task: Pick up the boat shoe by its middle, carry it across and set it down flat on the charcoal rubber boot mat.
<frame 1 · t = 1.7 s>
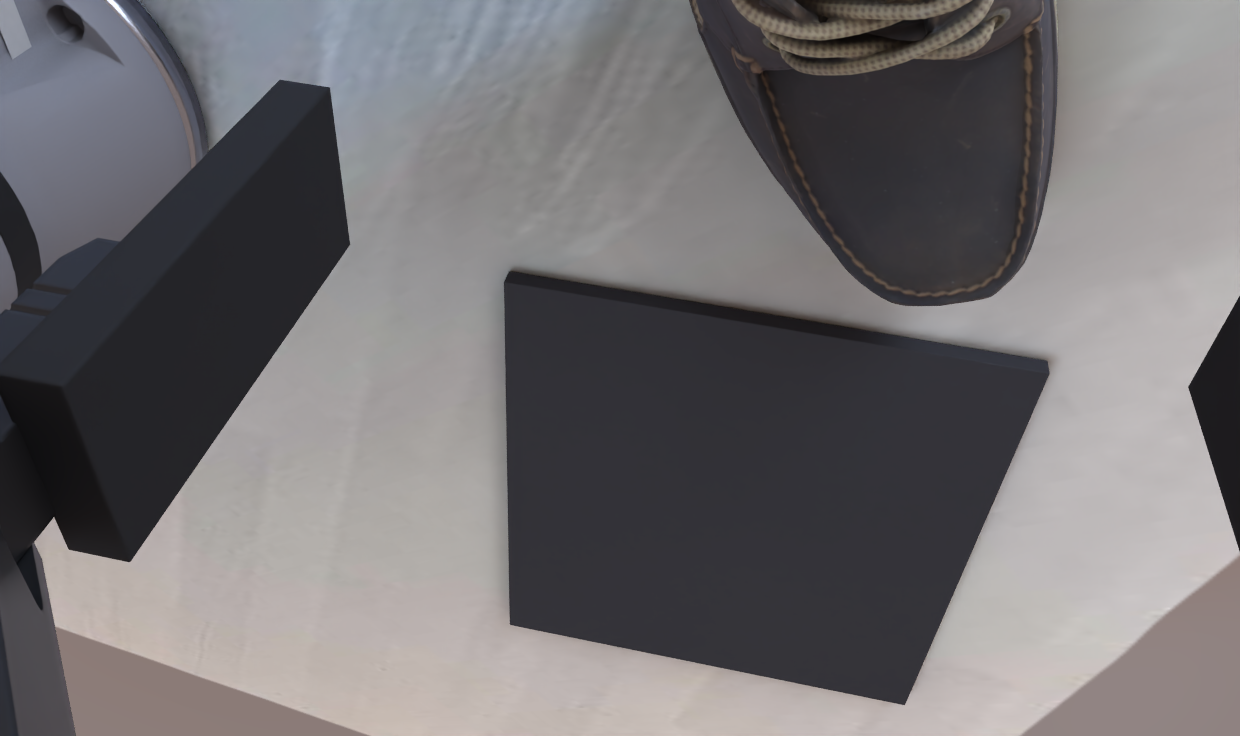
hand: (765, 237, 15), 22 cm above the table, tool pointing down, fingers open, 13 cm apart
boot mat: (733, 509, 51), on the table
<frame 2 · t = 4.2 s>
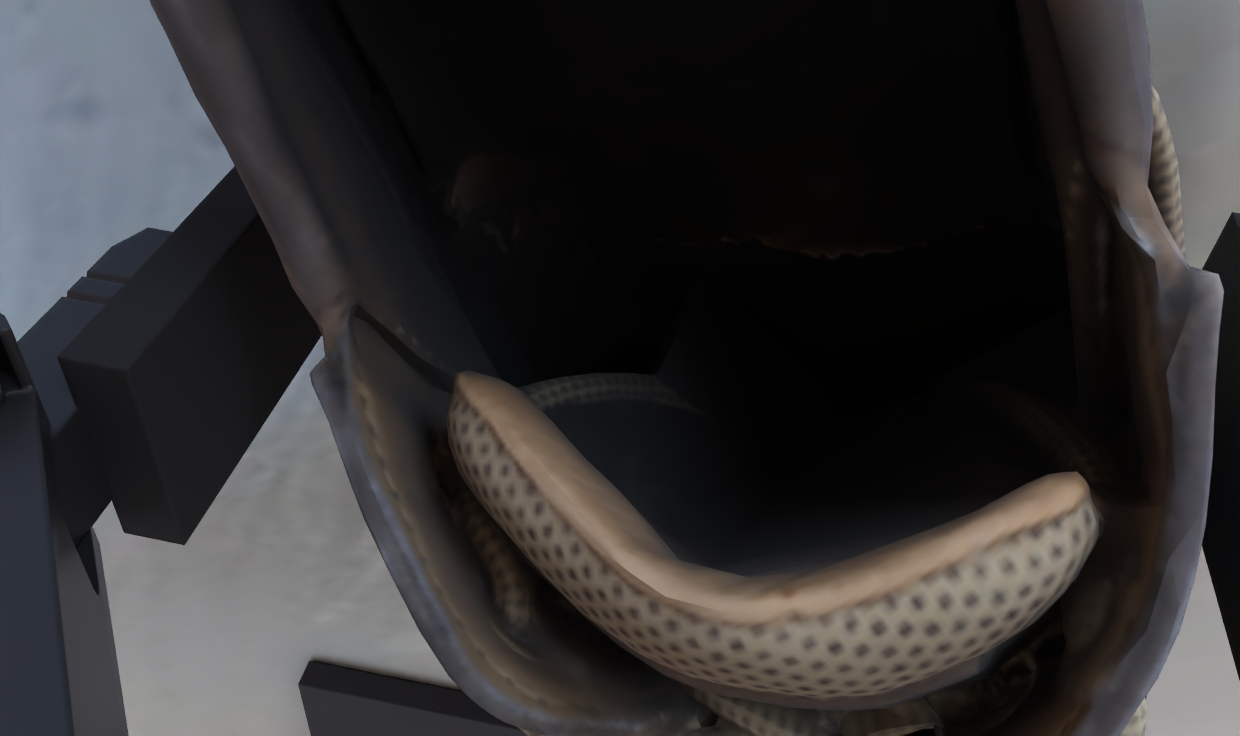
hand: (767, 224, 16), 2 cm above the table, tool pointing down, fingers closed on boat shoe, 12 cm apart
boat shoe: (751, 144, 17), on the table, touching gripper
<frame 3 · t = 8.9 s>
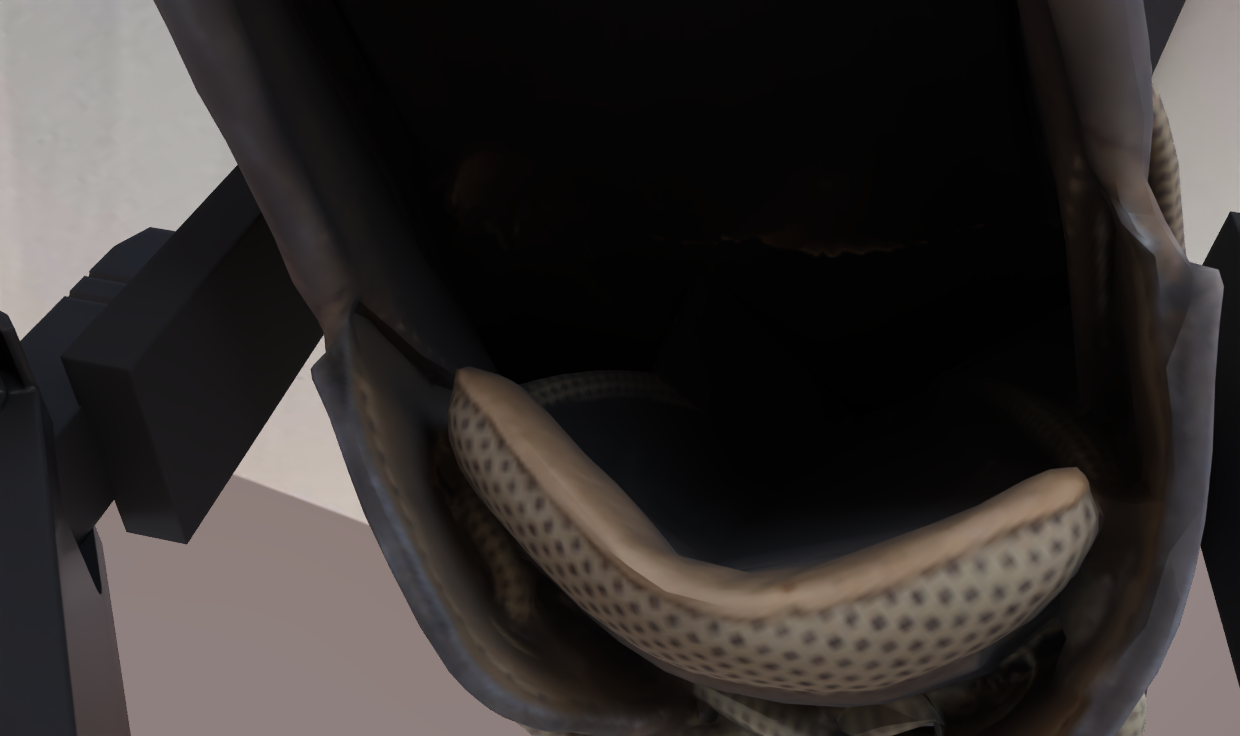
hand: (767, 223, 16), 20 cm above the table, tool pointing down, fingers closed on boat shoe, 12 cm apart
boot mat: (795, 18, 34), on the table
boat shoe: (752, 143, 17), point 18 cm above the table, touching gripper
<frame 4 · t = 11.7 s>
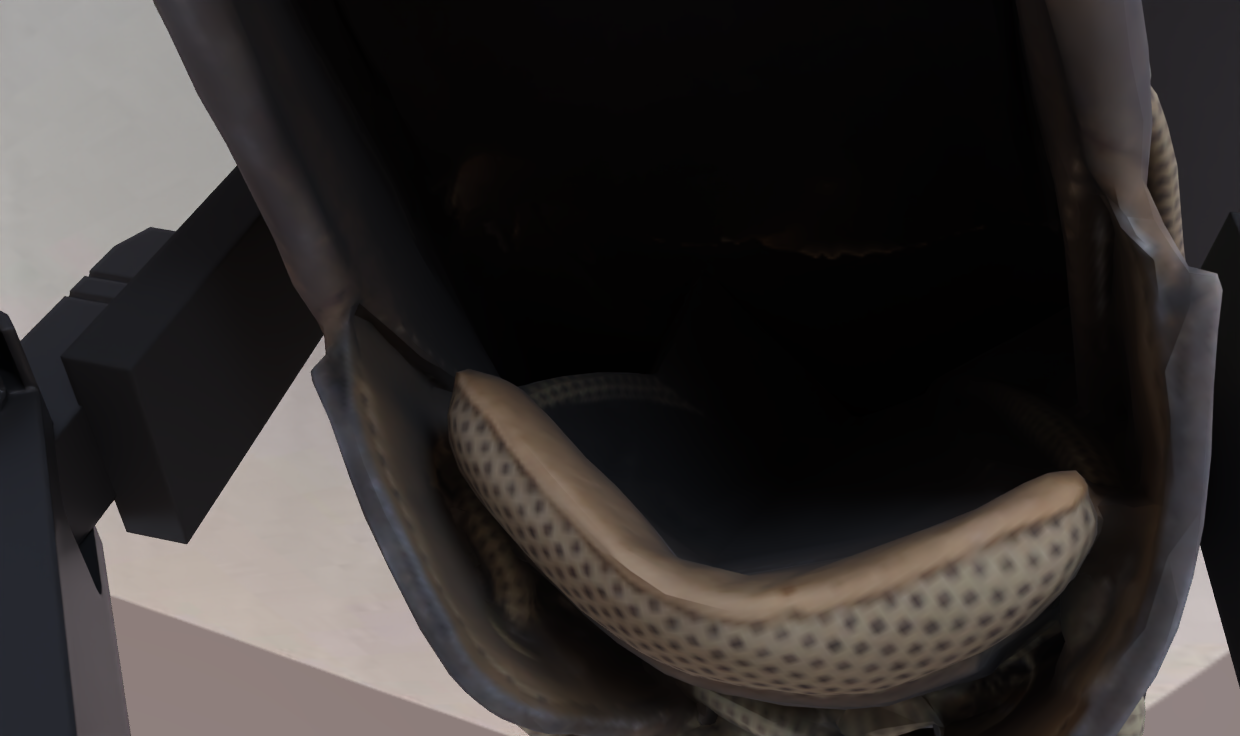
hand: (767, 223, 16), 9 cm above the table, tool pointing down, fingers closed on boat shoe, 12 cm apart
boat shoe: (752, 145, 17), point 7 cm above the table, touching gripper
when the fingers open (3 cm above the table, at t = 13.8 s): boat shoe stays where it is, resting on boot mat.
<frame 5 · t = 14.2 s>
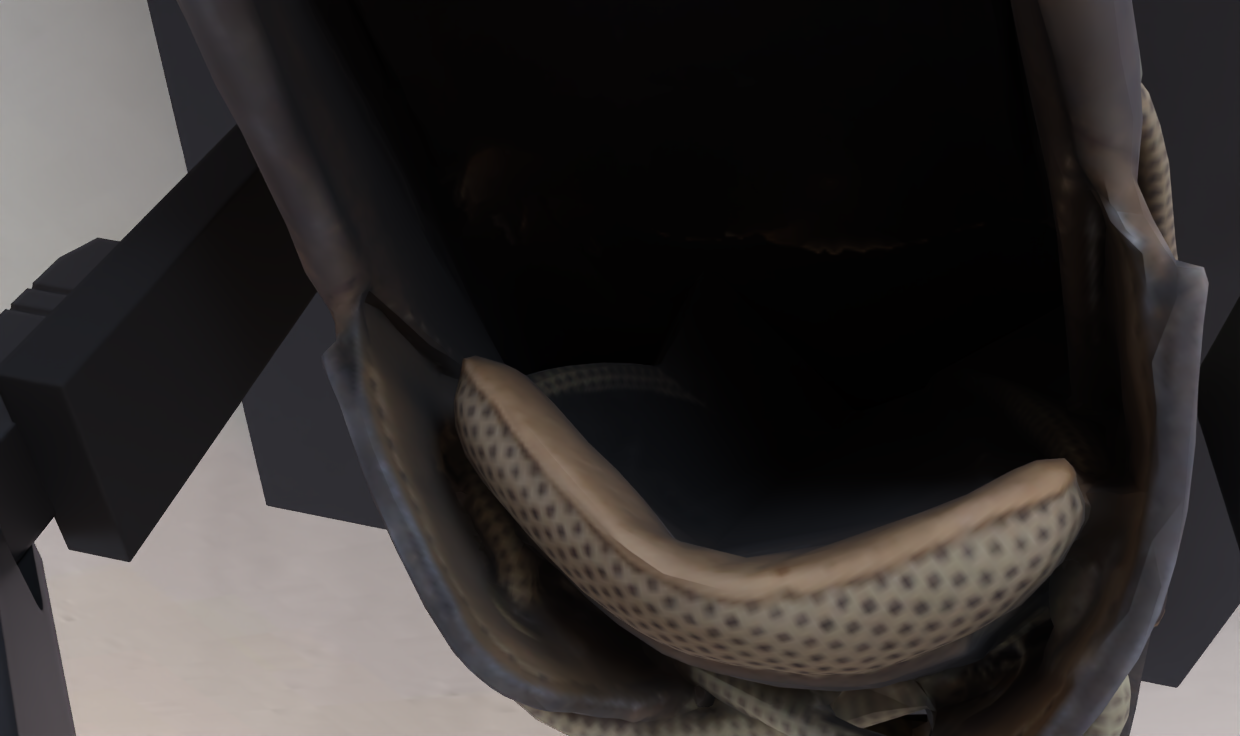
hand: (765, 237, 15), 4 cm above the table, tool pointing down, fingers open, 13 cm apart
boot mat: (786, 124, 18), on the table
boat shoe: (757, 141, 18), point 1 cm above the table, touching boot mat
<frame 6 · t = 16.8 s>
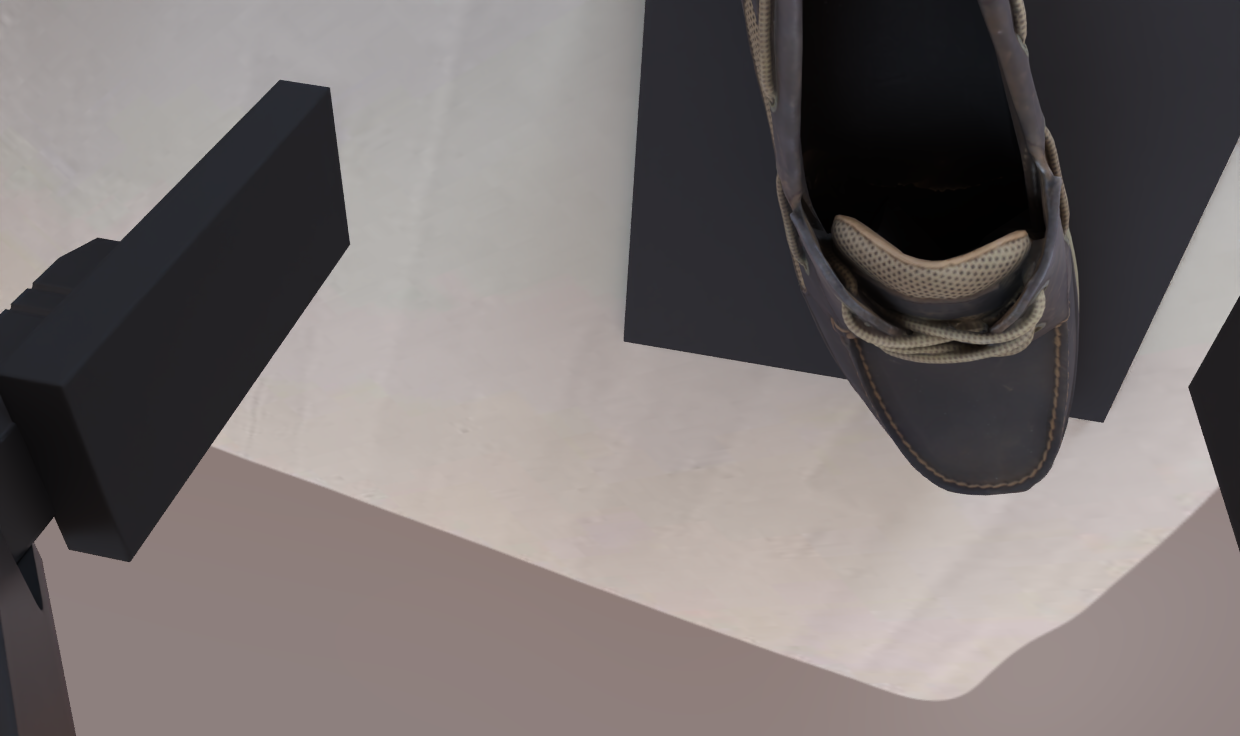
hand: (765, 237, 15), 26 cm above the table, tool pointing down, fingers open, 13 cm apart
boot mat: (916, 139, 42), on the table
boat shoe: (904, 147, 41), point 1 cm above the table, touching boot mat
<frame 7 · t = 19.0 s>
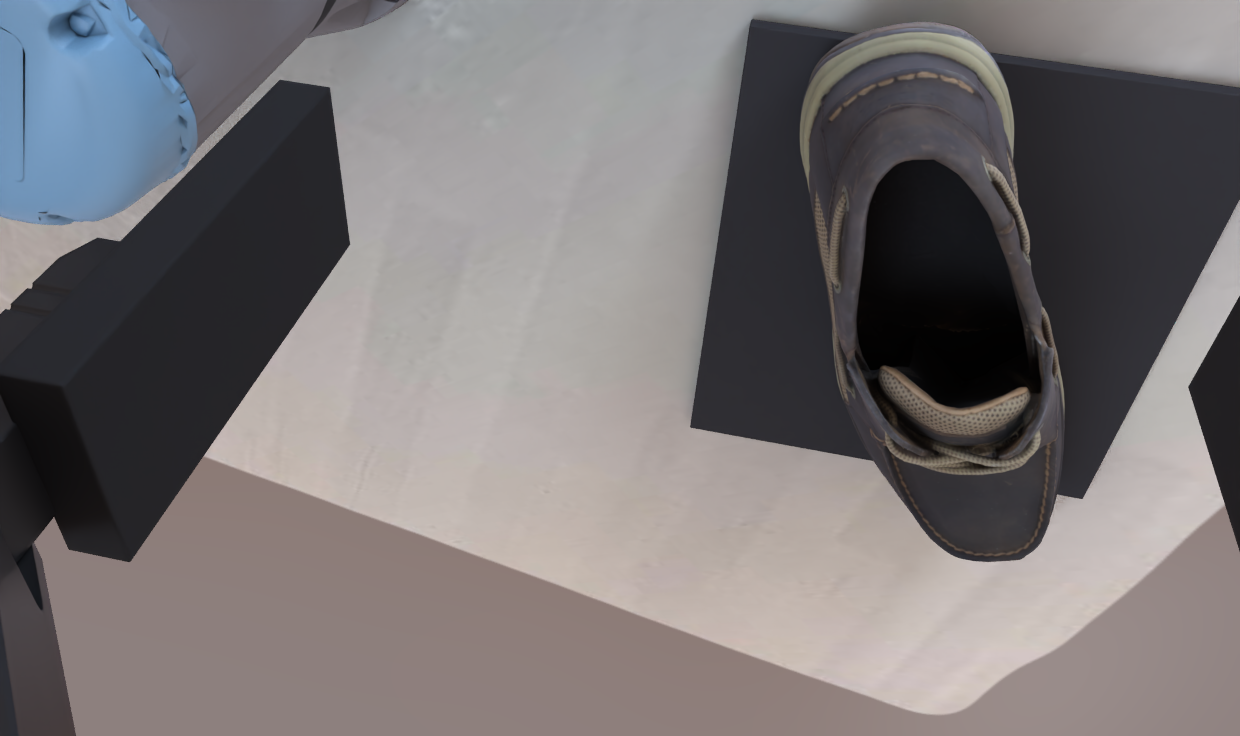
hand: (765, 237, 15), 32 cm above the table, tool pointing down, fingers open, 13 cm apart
boot mat: (937, 284, 52), on the table
boat shoe: (928, 291, 52), point 1 cm above the table, touching boot mat
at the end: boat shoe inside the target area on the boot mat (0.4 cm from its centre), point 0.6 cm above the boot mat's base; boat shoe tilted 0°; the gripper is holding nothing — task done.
